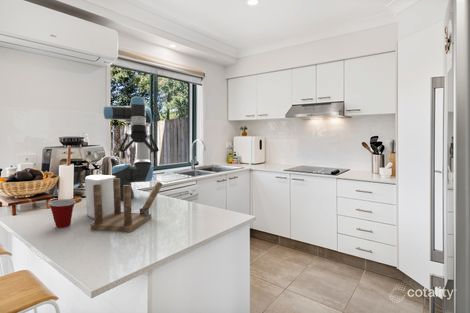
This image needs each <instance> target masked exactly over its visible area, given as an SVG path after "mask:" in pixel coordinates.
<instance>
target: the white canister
mask: <svg viewBox="0 0 470 313" xmlns="http://www.w3.org/2000/svg"><path fill="white" fill-rule="evenodd" d="M113 179H116V176H112V174H111V175H109V174H107V175H106V174H92V175H91V174H90V175H86V176H85V177H84V183H85V184H84V189H85V190H84V191H85V206H86V207H85V208H86V216H88V217H90V218H92V219H94V220H95V216H94V194H93V184H101V199H102V218H105V217H107V216H109V215H111V214H113V213H114V191H113Z"/></svg>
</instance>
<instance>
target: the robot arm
mask: <svg viewBox="0 0 470 313" xmlns="http://www.w3.org/2000/svg"><path fill="white" fill-rule="evenodd" d="M146 103H147V102H146V99H145V98H144V97H142V96H132V97H131V98H130V105H125V106H122V105H119V106H118V105H105V106H104V107H103V118H104V119H105V120H111V121H112V120H116V121H119V122H124V123H130V124H131V126H130V131H131V132H130V133H125V134H124V138H123V141H122V142H121V144H120V146H119V147H118V152H120V153H121V158H122V159H123V160H124V163H121V164H117V165H113V167H112V168H111V175H112V176H116V178H119V179H120V198H121V202H122V201H124V199H123V185H131V200H132V199H134V198H135V193H134V190H133V187H132V183H146V182H147V183H148V182H152V180H153V178H154V177H153V176H154V167H155V166H154V165H155V164H154V163H155V160H156V153H158V152H159V151H160V149H159V147H158V145H157V144H156V142H155V140H154V138H153V134H149V127H150V126H151V124H152V123H153V115H152V110H151V108H150V106H146ZM129 138H130V139H131V140H130V142H129V143H128V144H127V145H126V146H125V143H126V141H127V140H128V139H129ZM149 142H150V143H149ZM134 143H135V155H136V156H135V157H136V158H135V161H134V162H133V165H132V164H131V163H130V162H129V163H128V159H127V157H128V156H127V150H128V149H129V148H130V147H131V145H132V144H134ZM124 146H125V147H124ZM150 151H151V153H150Z"/></svg>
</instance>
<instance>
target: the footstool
mask: <svg viewBox="0 0 470 313" xmlns="http://www.w3.org/2000/svg"><path fill="white" fill-rule="evenodd" d="M131 187H132V184H131V185H123V199H124V200H123V211H122V201H121V198H120V179H119V178H116V179H113V191H114V213H113V214H110V215H108V216H106V217H104V218H102V199H101V184H93V194H94V216H95V219H94V222H93V223H90V226H89V227H90V228H89V229H90V230H91V231H103V232H105V231H106V232H116V233H117V232H119V233H131V232H133V231H135V230H136V229H137V228H139V227H140V226H142V225H144V224H145V223H147V222H148V221H150V220H151V219H152V213H149V216H144V214H141V215H140V212H133V211H132V199H131Z"/></svg>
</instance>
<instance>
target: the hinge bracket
mask: <svg viewBox="0 0 470 313" xmlns="http://www.w3.org/2000/svg"><path fill="white" fill-rule="evenodd" d="M142 208H143V207H141V208H139V213H140V215H141V214H144V216H149V214H150V209H149V210H142Z"/></svg>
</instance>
